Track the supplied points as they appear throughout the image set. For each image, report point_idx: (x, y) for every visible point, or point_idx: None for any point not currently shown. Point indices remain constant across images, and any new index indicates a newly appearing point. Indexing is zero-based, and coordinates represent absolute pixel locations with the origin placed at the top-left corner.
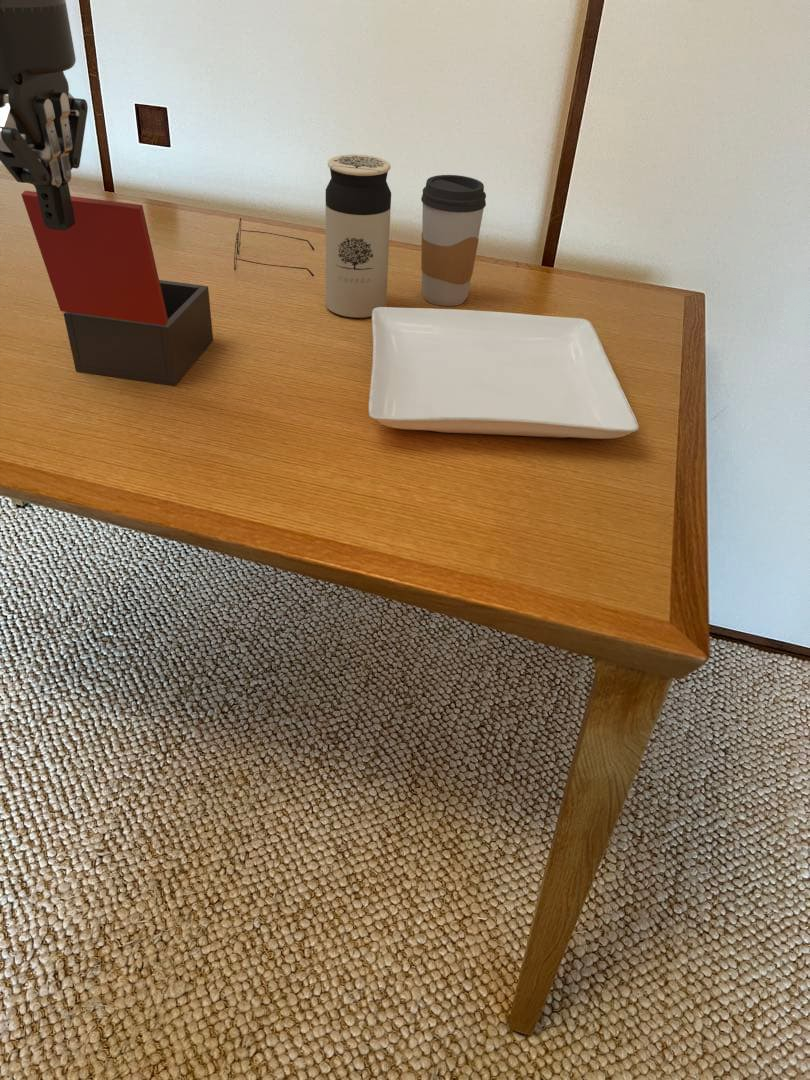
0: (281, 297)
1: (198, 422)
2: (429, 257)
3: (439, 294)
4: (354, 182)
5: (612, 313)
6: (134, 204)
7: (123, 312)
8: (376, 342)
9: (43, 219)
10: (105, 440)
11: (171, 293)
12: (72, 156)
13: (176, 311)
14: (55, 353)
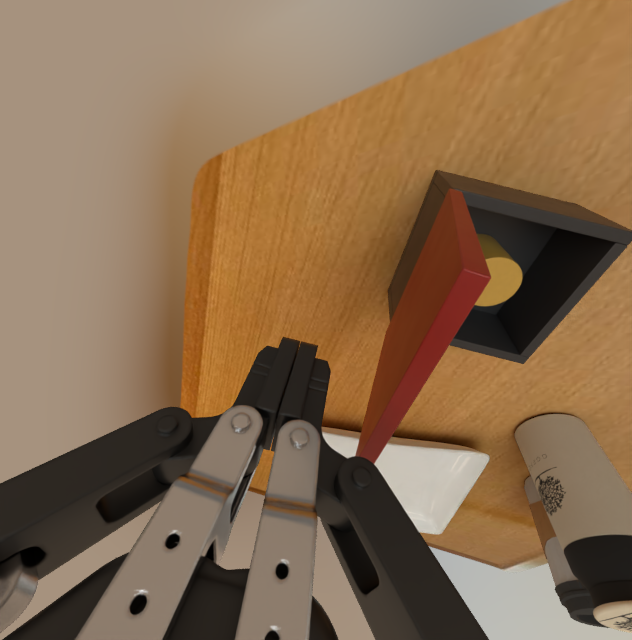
0: (610, 379)
1: (318, 314)
2: None
3: (531, 486)
4: (598, 592)
5: (480, 536)
6: None
7: (404, 293)
8: (407, 448)
9: (258, 353)
10: (278, 241)
11: (541, 314)
12: (326, 527)
13: None
14: (506, 117)
